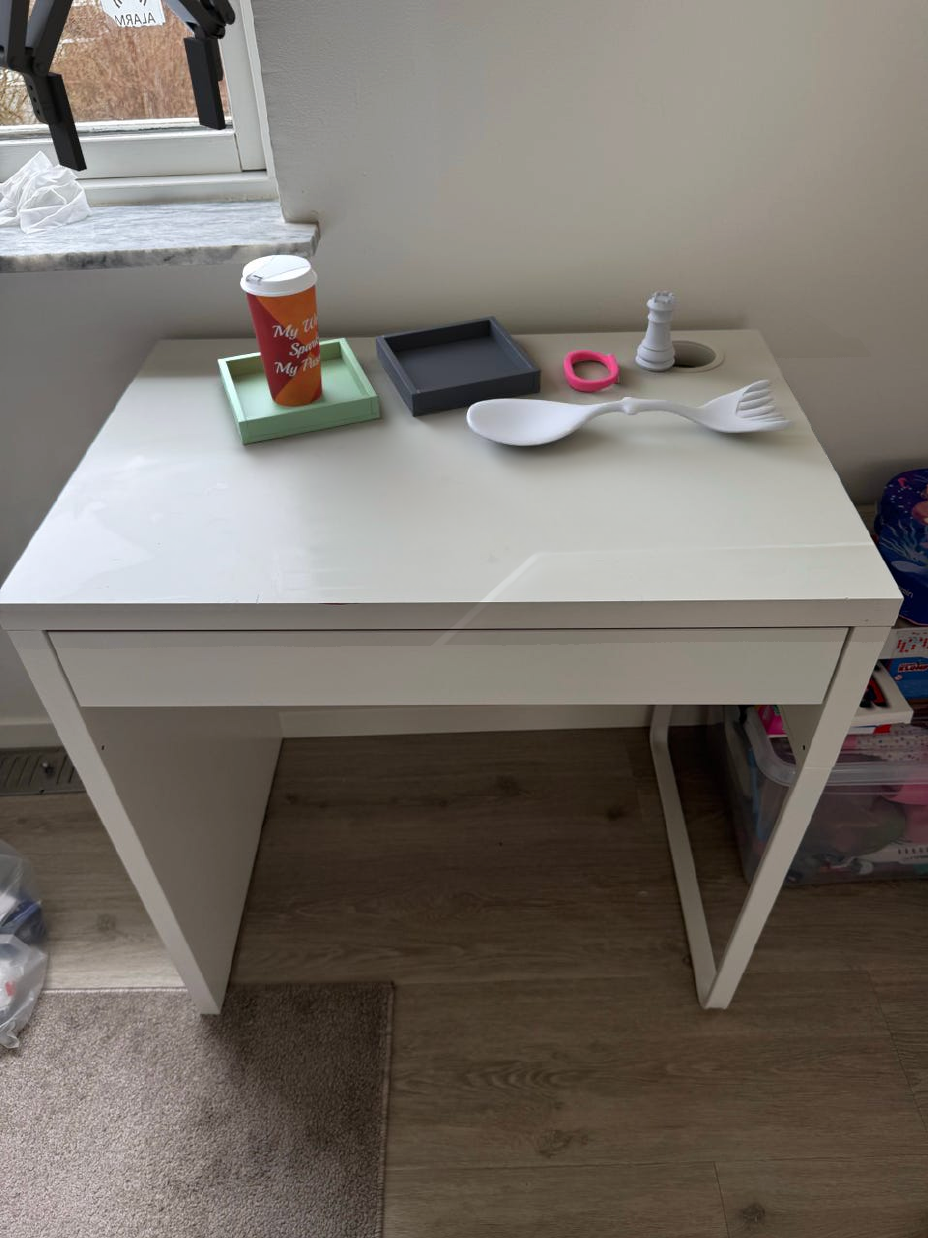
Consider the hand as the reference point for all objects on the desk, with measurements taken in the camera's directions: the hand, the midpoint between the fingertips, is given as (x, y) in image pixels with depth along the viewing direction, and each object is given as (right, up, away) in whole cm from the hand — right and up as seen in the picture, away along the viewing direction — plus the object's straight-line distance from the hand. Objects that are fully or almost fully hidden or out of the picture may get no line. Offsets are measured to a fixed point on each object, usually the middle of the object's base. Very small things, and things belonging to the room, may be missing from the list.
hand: (146, 146), depth 77 cm
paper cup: (+8, -14, +26) cm, 31 cm away
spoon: (+42, -20, +20) cm, 51 cm away
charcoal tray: (+25, -11, +30) cm, 41 cm away
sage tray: (+8, -14, +26) cm, 31 cm away
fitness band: (+40, -11, +29) cm, 51 cm away
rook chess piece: (+48, -10, +31) cm, 58 cm away
